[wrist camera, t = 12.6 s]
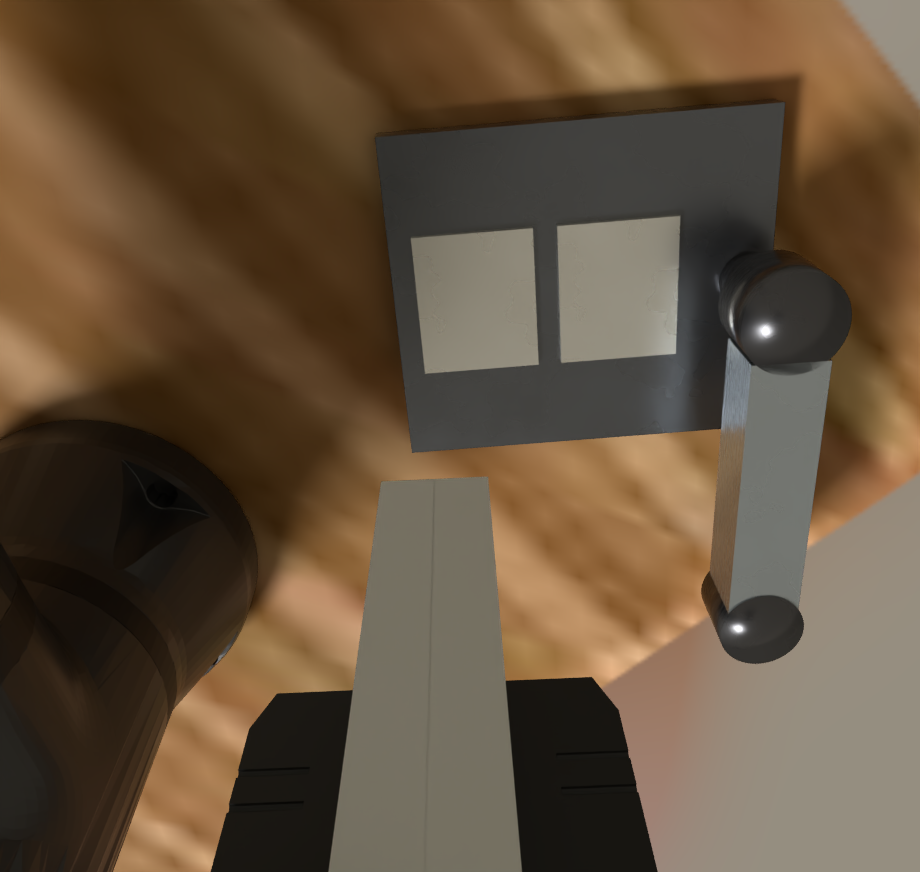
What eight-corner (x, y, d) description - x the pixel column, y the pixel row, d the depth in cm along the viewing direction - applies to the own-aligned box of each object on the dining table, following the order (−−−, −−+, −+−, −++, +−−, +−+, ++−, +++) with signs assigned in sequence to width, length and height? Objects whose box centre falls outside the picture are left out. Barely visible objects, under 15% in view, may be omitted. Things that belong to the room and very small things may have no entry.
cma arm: (778, 615, 42) (803, 660, 39) (694, 620, 42) (713, 666, 39) (825, 245, 34) (860, 268, 31) (721, 252, 34) (746, 275, 31)
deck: (413, 441, 42) (410, 478, 38) (377, 133, 35) (370, 146, 32) (755, 414, 41) (781, 449, 38) (779, 98, 35) (813, 108, 32)
